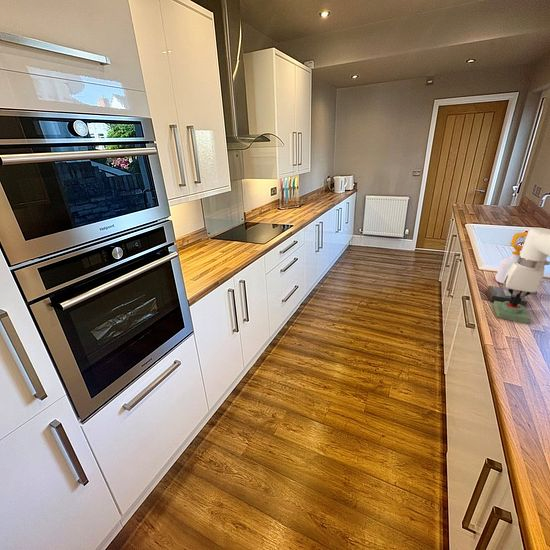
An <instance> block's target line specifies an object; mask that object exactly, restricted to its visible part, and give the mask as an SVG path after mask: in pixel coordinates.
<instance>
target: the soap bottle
mask: <svg viewBox="0 0 550 550" xmlns="http://www.w3.org/2000/svg"><path fill="white" fill-rule="evenodd" d="M528 232H529V231H528ZM528 232H527V231H522V232H518V233H517V232H516V233H514V234H513V236H512V238H511V241H510V245H511V247H512V248H513V249H514V251H512V252H511V253H510V254H511V255H510V256H507V257H504V258H502V259H501V261H500V263H499V265H498V269H497V271H496V275H495V278H494V279H495V281H496V282H498V283H500V284H502V285H504V279H505V277H506V274H507V273H508V271H509V269H510V267H511V265H512V264H513V263H514V262H517V260H518V258H519V255H520V252H521V250H522V247H523V245H516V243H517V241H518V239H519V238H521V237H522V238H523V237H527V234H528Z"/></svg>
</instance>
